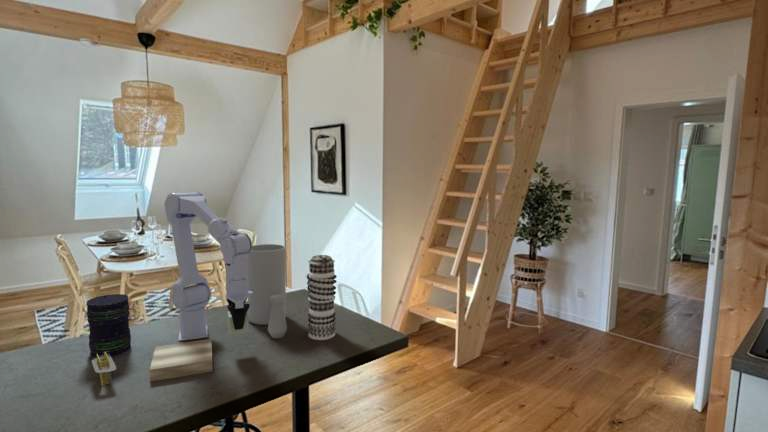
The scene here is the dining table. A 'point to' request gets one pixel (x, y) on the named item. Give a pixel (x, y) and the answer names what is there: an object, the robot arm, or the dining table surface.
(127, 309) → the storage jar
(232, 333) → the green cube
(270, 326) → the salt shaker
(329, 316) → the black white patterned cylinder
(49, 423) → the dining table surface
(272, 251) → the cylinder vase
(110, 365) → the platform
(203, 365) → the birch base
